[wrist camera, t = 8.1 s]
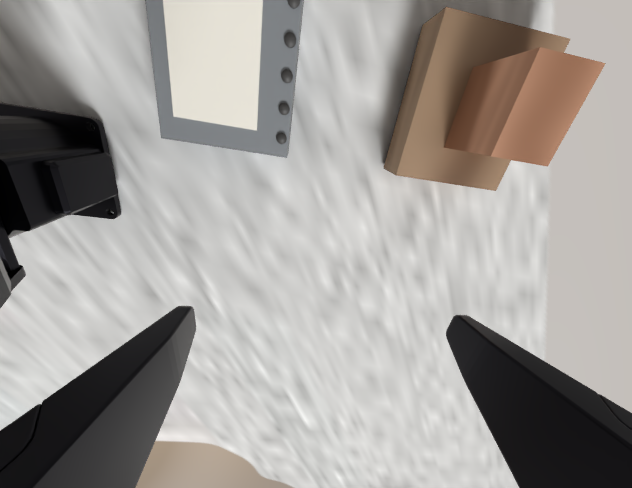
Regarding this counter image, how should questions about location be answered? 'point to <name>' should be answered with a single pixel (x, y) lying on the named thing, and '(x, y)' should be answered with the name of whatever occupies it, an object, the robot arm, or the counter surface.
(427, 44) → the block on square base
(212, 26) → the board
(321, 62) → the counter surface
